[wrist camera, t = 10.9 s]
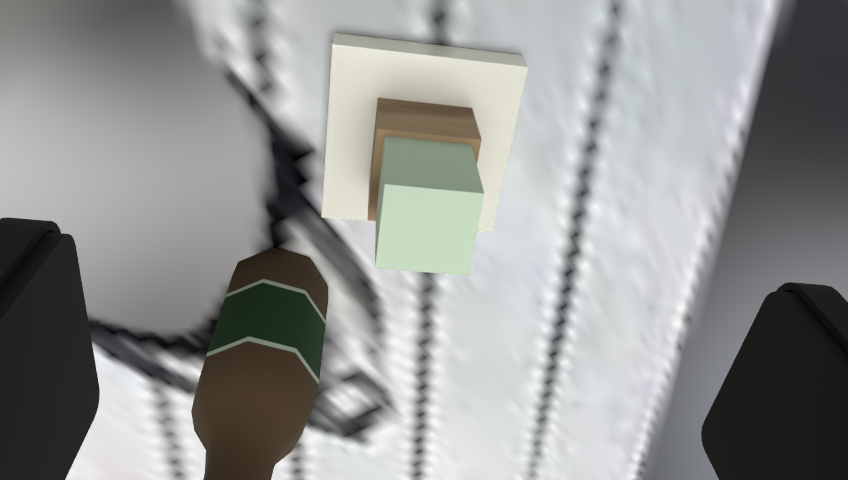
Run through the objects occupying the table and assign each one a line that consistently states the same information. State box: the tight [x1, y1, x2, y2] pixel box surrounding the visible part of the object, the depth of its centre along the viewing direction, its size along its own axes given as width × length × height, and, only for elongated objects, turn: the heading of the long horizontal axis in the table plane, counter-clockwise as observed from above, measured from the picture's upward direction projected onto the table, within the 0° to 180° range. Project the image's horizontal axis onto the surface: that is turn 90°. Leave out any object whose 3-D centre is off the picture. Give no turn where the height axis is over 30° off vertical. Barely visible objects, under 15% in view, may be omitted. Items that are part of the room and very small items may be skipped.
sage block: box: [375, 136, 484, 275], centre depth 38 cm, size 5×5×6 cm
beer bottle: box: [191, 248, 328, 480], centre depth 43 cm, size 8×8×24 cm
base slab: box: [322, 33, 528, 232], centre depth 45 cm, size 12×12×2 cm
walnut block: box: [368, 98, 482, 221], centre depth 42 cm, size 6×6×5 cm
